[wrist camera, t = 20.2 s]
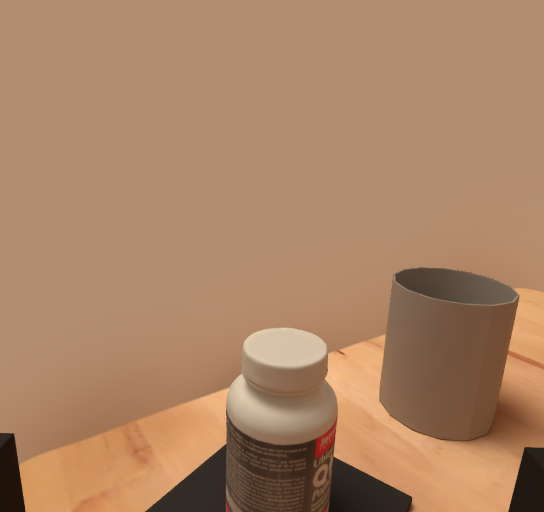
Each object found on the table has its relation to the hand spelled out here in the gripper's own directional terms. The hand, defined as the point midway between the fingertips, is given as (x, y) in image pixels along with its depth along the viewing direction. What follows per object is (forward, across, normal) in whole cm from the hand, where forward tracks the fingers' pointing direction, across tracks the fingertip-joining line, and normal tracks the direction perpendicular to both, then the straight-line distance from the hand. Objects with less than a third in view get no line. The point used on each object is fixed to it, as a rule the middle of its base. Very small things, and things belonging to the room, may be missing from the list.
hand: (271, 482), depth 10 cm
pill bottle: (+8, +1, -10) cm, 13 cm away
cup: (+19, +14, -11) cm, 25 cm away
